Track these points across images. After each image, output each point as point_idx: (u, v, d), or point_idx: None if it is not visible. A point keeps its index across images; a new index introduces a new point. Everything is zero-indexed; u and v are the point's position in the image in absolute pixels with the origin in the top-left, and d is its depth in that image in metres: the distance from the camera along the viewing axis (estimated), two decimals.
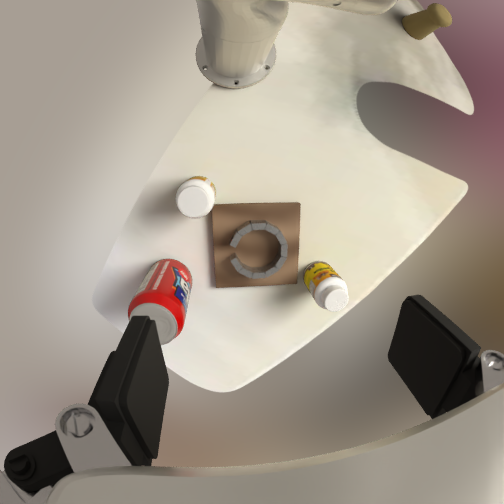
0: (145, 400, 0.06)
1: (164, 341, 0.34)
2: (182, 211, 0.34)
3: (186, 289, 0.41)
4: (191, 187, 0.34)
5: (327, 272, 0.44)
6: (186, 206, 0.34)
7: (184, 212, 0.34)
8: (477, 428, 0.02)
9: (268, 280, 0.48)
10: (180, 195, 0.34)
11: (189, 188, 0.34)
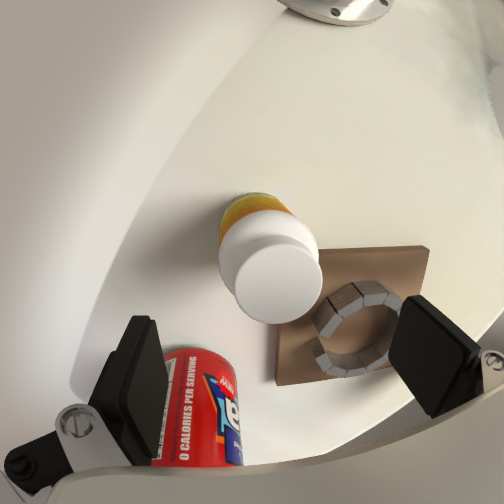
0: (145, 400, 0.06)
1: None
2: (248, 310, 0.12)
3: (237, 419, 0.19)
4: (279, 246, 0.11)
5: None
6: (260, 299, 0.12)
7: (253, 313, 0.12)
8: (477, 428, 0.02)
9: None
10: (244, 269, 0.12)
11: (273, 250, 0.11)
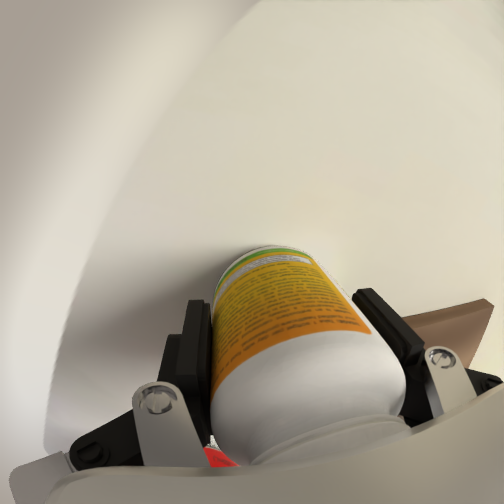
0: (210, 376, 0.07)
1: None
2: None
3: None
4: None
5: None
6: None
7: None
8: (477, 428, 0.02)
9: None
10: None
11: None
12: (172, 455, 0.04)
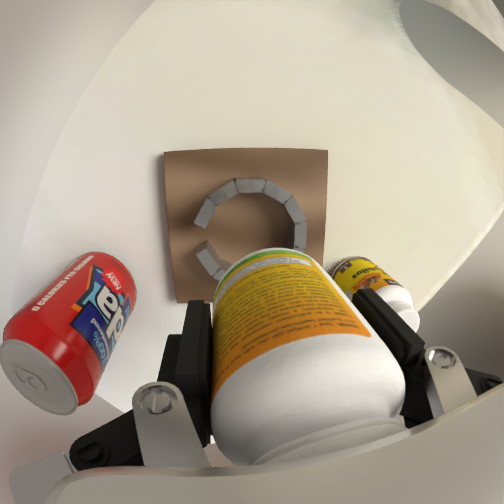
0: (210, 376, 0.07)
1: (62, 411, 0.13)
2: None
3: (111, 309, 0.19)
4: None
5: (379, 276, 0.22)
6: None
7: None
8: (477, 428, 0.02)
9: None
10: None
11: None
12: (172, 455, 0.04)
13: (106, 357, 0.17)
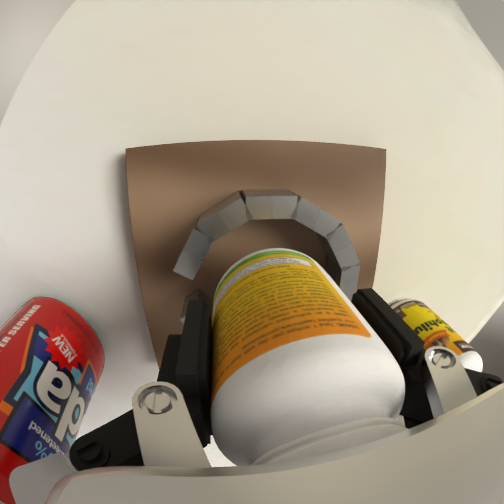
0: (210, 376, 0.07)
1: None
2: None
3: (61, 396, 0.10)
4: None
5: (447, 337, 0.13)
6: None
7: None
8: (477, 429, 0.02)
9: None
10: None
11: None
12: (172, 455, 0.04)
13: None
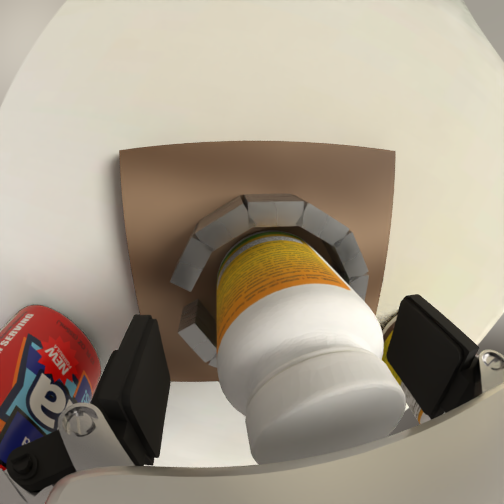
0: (147, 399, 0.06)
1: None
2: None
3: (55, 410, 0.09)
4: (348, 389, 0.05)
5: None
6: (297, 455, 0.05)
7: None
8: (477, 428, 0.02)
9: None
10: (274, 429, 0.05)
11: (336, 397, 0.05)
12: None
13: None
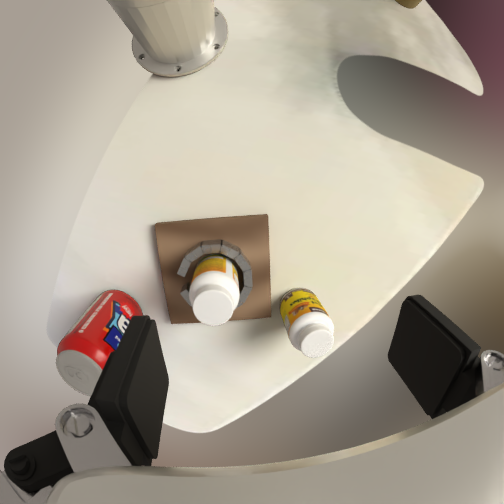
0: (145, 400, 0.06)
1: None
2: (200, 319, 0.27)
3: None
4: (210, 291, 0.26)
5: (307, 305, 0.33)
6: (204, 313, 0.27)
7: (202, 320, 0.27)
8: (477, 428, 0.02)
9: (234, 314, 0.38)
10: (196, 300, 0.26)
11: (207, 292, 0.26)
12: None
13: None
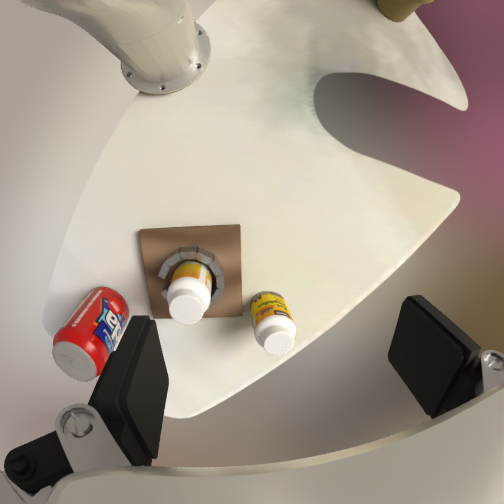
0: (145, 400, 0.06)
1: (87, 379, 0.28)
2: (175, 318, 0.31)
3: (114, 323, 0.34)
4: (183, 296, 0.30)
5: (272, 308, 0.37)
6: (179, 314, 0.30)
7: (177, 320, 0.31)
8: (477, 428, 0.02)
9: (209, 312, 0.42)
10: (172, 303, 0.30)
11: (181, 297, 0.30)
12: None
13: (111, 350, 0.32)
